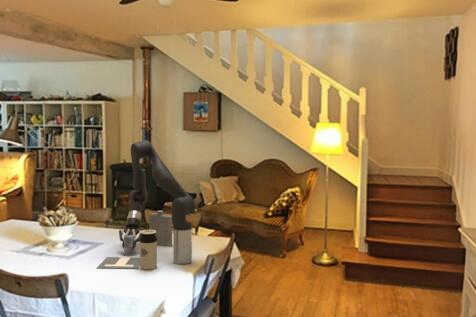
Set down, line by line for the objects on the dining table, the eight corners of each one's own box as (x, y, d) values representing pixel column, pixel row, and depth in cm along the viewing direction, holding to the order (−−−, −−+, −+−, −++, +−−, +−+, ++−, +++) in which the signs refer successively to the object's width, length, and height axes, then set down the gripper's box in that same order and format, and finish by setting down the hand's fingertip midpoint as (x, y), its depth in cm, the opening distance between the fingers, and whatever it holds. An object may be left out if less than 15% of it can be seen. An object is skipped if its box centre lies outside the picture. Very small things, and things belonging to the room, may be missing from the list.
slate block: (134, 253, 233) (134, 235, 232) (132, 255, 229) (132, 237, 228) (126, 253, 233) (126, 234, 232) (124, 255, 229) (124, 237, 228)
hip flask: (173, 245, 249) (173, 211, 247) (168, 247, 245) (169, 212, 244) (151, 241, 256) (151, 208, 255) (147, 243, 253) (147, 209, 251)
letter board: (145, 258, 224) (145, 257, 224) (137, 269, 207) (137, 268, 207) (107, 257, 224) (107, 256, 224) (96, 268, 207) (96, 267, 207)
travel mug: (149, 263, 216) (149, 228, 214) (160, 267, 211) (160, 231, 209) (136, 267, 210) (136, 231, 208) (147, 271, 205) (147, 234, 203)
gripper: (119, 216, 237) (113, 244, 226) (145, 217, 237) (140, 244, 226) (122, 223, 243) (116, 251, 231) (147, 224, 243) (142, 251, 231)
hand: (128, 247), depth 229 cm, fingers closed on slate block, 4 cm apart
